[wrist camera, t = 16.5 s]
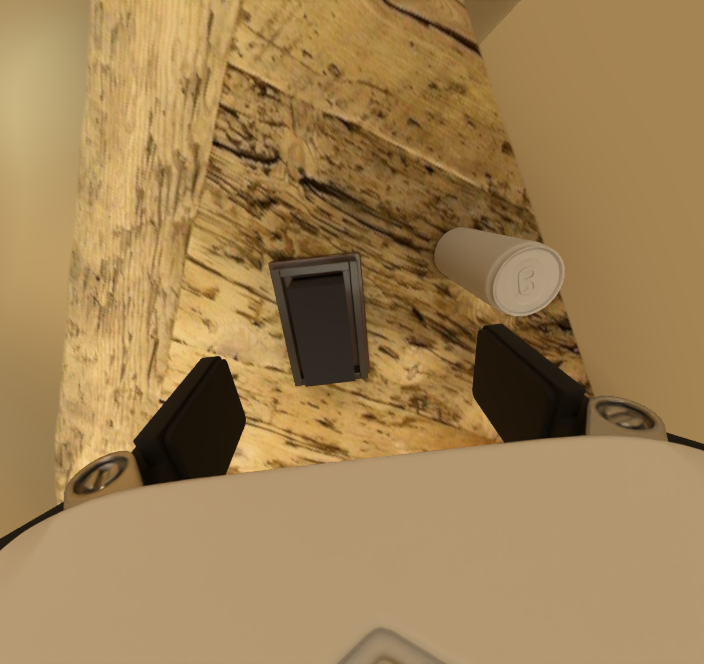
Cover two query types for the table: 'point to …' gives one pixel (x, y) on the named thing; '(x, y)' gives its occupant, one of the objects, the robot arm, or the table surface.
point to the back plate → (352, 275)
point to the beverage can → (501, 269)
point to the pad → (322, 328)
